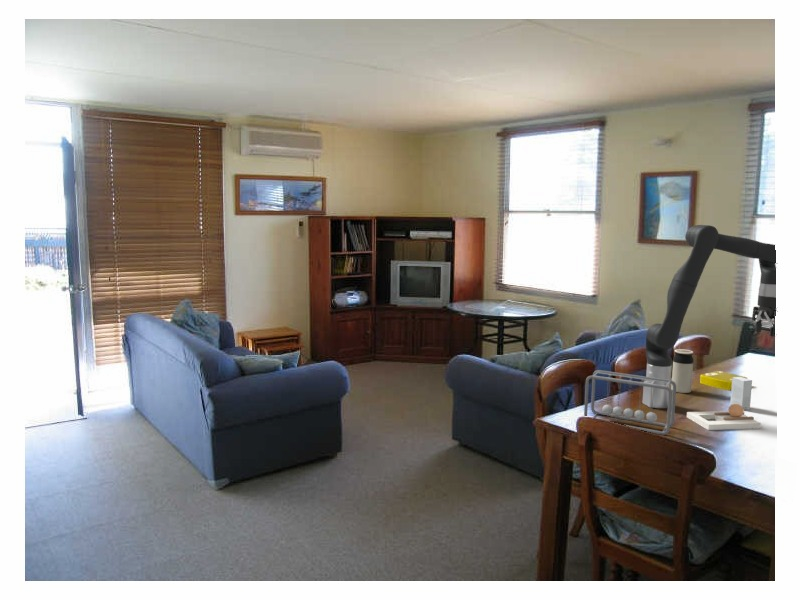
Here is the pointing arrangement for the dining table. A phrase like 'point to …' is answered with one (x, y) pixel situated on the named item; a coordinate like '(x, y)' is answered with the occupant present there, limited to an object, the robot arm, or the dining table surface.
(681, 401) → the dining table surface
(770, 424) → the dining table surface
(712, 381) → the element tile
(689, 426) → the dining table surface
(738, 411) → the ball
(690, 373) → the travel mug
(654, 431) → the newton's cradle
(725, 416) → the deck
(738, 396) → the skincare box
